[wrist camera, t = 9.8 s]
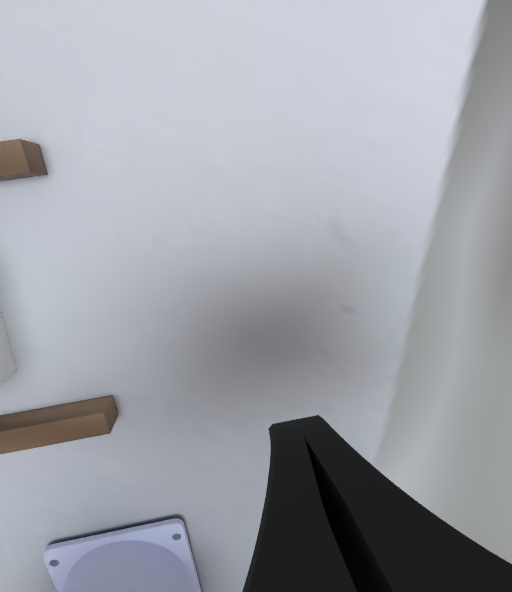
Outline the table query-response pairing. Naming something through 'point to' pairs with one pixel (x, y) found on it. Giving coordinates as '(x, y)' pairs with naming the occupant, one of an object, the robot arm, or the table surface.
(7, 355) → the white cube
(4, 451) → the u-shaped frame
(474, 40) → the table surface
